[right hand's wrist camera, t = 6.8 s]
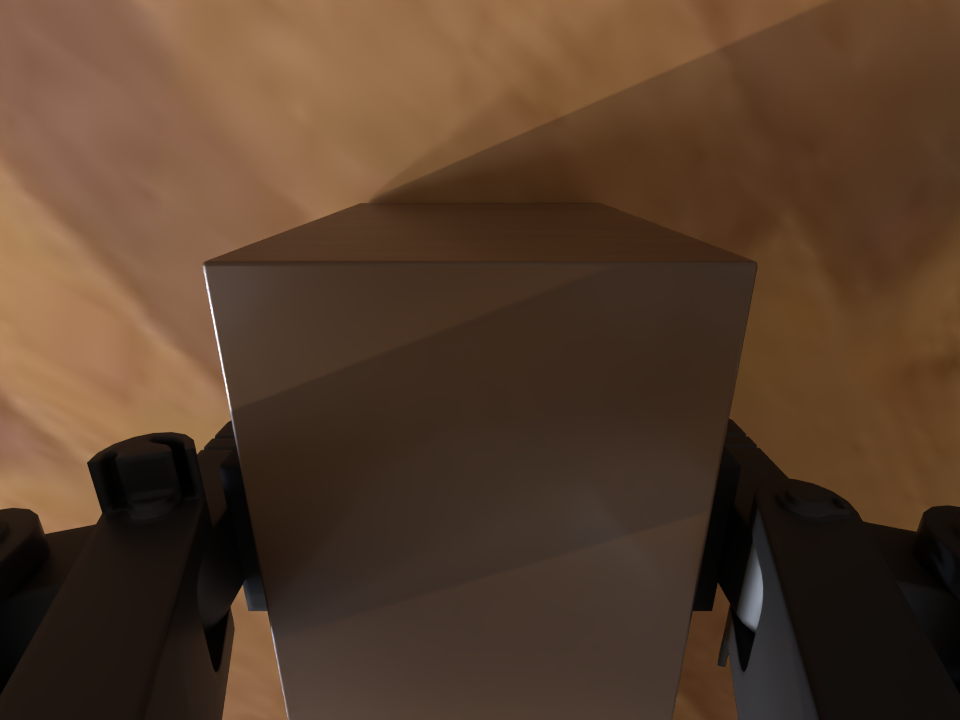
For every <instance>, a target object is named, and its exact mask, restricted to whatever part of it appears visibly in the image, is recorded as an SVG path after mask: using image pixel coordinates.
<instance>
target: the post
mask: <svg viewBox="0 0 960 720" xmlns="http://www.w3.org/2000/svg"><path fill="white" fill-rule="evenodd" d="M203 271H204V276H205V281H206V287H207V292H208V297H209V303H210V308H211V313H212V319H213V324H214V329H215V334H216V340H217V345H218V350H219V356H220V361H221V366H222V372H223V377H224V382H225V388H226V393H227V398H228V403H229V409H230V414H231V419H232V425H233V430H234V435H235V441H236V446H237V451H238V457H239V462H240V467H241V472H242V478H243V483H244V488H245V494H246V499H247V504H248V510H249V515H250V520H251V526H252V531H253V536H254V541H255V547H256V552H257V557H258V563H259V568H260V573H261V579H262V584H263V589H264V595H265V600H266V605H267V610H268V616H269V621H270V626H271V632H272V637H273V642H274V648H275V653H276V658H277V664H278V669H279V674H280V679H281V685H282V690H283V695H284V701H285V706H286V711H287V717H288V720H672V717H673V712H674V707H675V702H676V696H677V691H678V686H679V680H680V675H681V670H682V664H683V659H684V654H685V648H686V643H687V638H688V633H689V627H690V622H691V617H692V611H693V606H694V601H695V595H696V590H697V585H698V580H699V574H700V569H701V564H702V558H703V553H704V548H705V542H706V537H707V532H708V526H709V521H710V516H711V511H712V505H713V500H714V495H715V489H716V484H717V479H718V473H719V468H720V463H721V457H722V452H723V447H724V442H725V436H726V431H727V426H728V420H729V415H730V410H731V404H732V399H733V394H734V389H735V383H736V378H737V373H738V367H739V362H740V357H741V351H742V346H743V341H744V335H745V330H746V325H747V320H748V314H749V309H750V304H751V298H752V293H753V288H754V282H755V277H756V272H757V263H756V262H755V261H752V260H750V259H747V258H744V257H742V256H739V255H736V254H734V253H731V252H728V251H726V250H723V249H720V248H718V247H715V246H712V245H710V244H707V243H704V242H702V241H699V240H696V239H694V238H691V237H688V236H686V235H683V234H680V233H678V232H675V231H672V230H670V229H667V228H664V227H662V226H659V225H656V224H654V223H651V222H648V221H646V220H643V219H640V218H638V217H635V216H632V215H630V214H627V213H625V212H622V211H619V210H617V209H614V208H611V207H609V206H606V205H603V204H601V203H360V204H357V205H355V206H352V207H349V208H347V209H344V210H341V211H339V212H336V213H333V214H331V215H328V216H325V217H323V218H320V219H317V220H315V221H312V222H309V223H307V224H304V225H301V226H299V227H296V228H293V229H291V230H288V231H285V232H283V233H280V234H277V235H275V236H272V237H269V238H267V239H264V240H261V241H258V242H256V243H253V244H250V245H248V246H245V247H242V248H240V249H237V250H234V251H232V252H229V253H226V254H224V255H221V256H218V257H216V258H213V259H210V260H208V261H205V262H204V263H203Z"/></svg>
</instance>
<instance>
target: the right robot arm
mask: <svg viewBox="0 0 960 720" xmlns="http://www.w3.org/2000/svg"><path fill="white" fill-rule="evenodd" d="M87 464H88V468H89V471H90V474H91V477H92V481H93V484H94V487H95V490H96V494H97V497H98V500H99V503H100V507H101V510H102V515H101V517H100V518H99V520H98V522H97V524H95V525H91V526H86V527H80V528H75V529H70V530H65V531H59V532H54V533H49V534H44V531H43V528H42V525H41V523H40V520H39V517H38V515H37V514H35V513H34V512H32V511H31V510H29V509H20V508H9V509H2V510H0V720H222V715H223V708H224V701H225V694H226V687H227V680H228V673H229V666H230V659H231V651H232V644H233V637H234V630H235V629H234V622H233V616H232V612H231V607H230V606H231V604H232V602H233V601H234V599H235V597H236V595H237V593H238V592H239V590H240V588H241V586H242V585H243V587H244V592H245V597H246V601H247V606H248V611H268V610H267V605H266V600H265V595H264V589H263V584H262V579H261V573H260V568H259V563H258V557H257V552H256V547H255V541H254V536H253V531H252V526H251V520H250V515H249V510H248V504H247V499H246V494H245V488H244V483H243V478H242V472H241V467H240V462H239V457H238V451H237V446H236V441H235V435H234V430H233V425H232V420H231V421H229V422H228V423H227V424H226V425H225V426H224V427H223V428H222V429H221V430H220V431H219V432H218V433H217V434H216V435H215V439H212V440H211V441H210V442H209V443H208V444H207V445H206V446H205V447H204V450H201V451H200V452H199V453H198V454H197V453H196V448H195V444H194V440H193V439H192V438H190V437H189V436H187V435H185V434H179V433H173V432H166V433H152V434H147V435H142V436H137V437H133V438H130V439H127V440H124V441H121V442H119V443H116V444H113V445H111V446H110V447H108V448H106V449H104V450H102V451H100V452H98V453H97V454H96V455H95V456H94V457H93V458H92V459H91V460H89V461H88V462H87ZM718 583H719V585H720V586H721V588H722V590H723V592H724V594H725V595H726V597H727V599H728V601H729V602H730V607H729V612H728V616H727V621H726V625H725V630H724V634H723V639H722V643H721V648H720V652H719V659H718V665H719V666H723V667H725V666H726V661H727V657H728V655H729V657H730V664H731V671H732V678H733V685H734V692H735V699H736V706H737V714H738V720H960V507H956V506H937V507H931V508H930V509H928V510H927V511H925V512H924V513H923V516H922V519H921V521H920V524H919V527H918V530H917V532H914V531H909V530H904V529H898V528H893V527H888V526H883V525H877V524H872V523H867V522H863V521H862V519H861V517H860V516H859V514H858V512H857V511H856V510H855V509H854V508H853V507H852V506H851V504H850V503H849V502H848V501H846V500H845V499H843V498H842V497H840V496H839V495H837V494H836V493H834V492H832V491H830V490H828V489H825V488H823V487H820V486H818V485H816V484H813V483H808V482H804V481H800V480H796V479H789V478H788V477H787V476H786V475H785V474H784V473H783V472H782V471H781V470H780V469H779V468H778V467H777V466H776V465H775V464H774V463H773V462H772V461H771V460H770V459H769V458H768V456H767V455H766V454H765V453H764V452H763V451H762V450H761V449H760V448H757V445H756V444H755V443H754V442H753V441H752V440H751V439H750V438H749V437H746V434H745V433H744V432H743V431H742V429H741V428H740V427H739V426H738V425H737V424H736V423H735V422H734V421H733V420H731V419H729V420H728V426H727V431H726V436H725V442H724V447H723V452H722V457H721V463H720V468H719V473H718V479H717V484H716V489H715V495H714V500H713V505H712V511H711V516H710V521H709V526H708V532H707V537H706V542H705V548H704V553H703V558H702V564H701V569H700V574H699V580H698V585H697V590H696V595H695V601H694V606H693V611H712V608H713V603H714V598H715V594H716V589H717V584H718Z"/></svg>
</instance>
